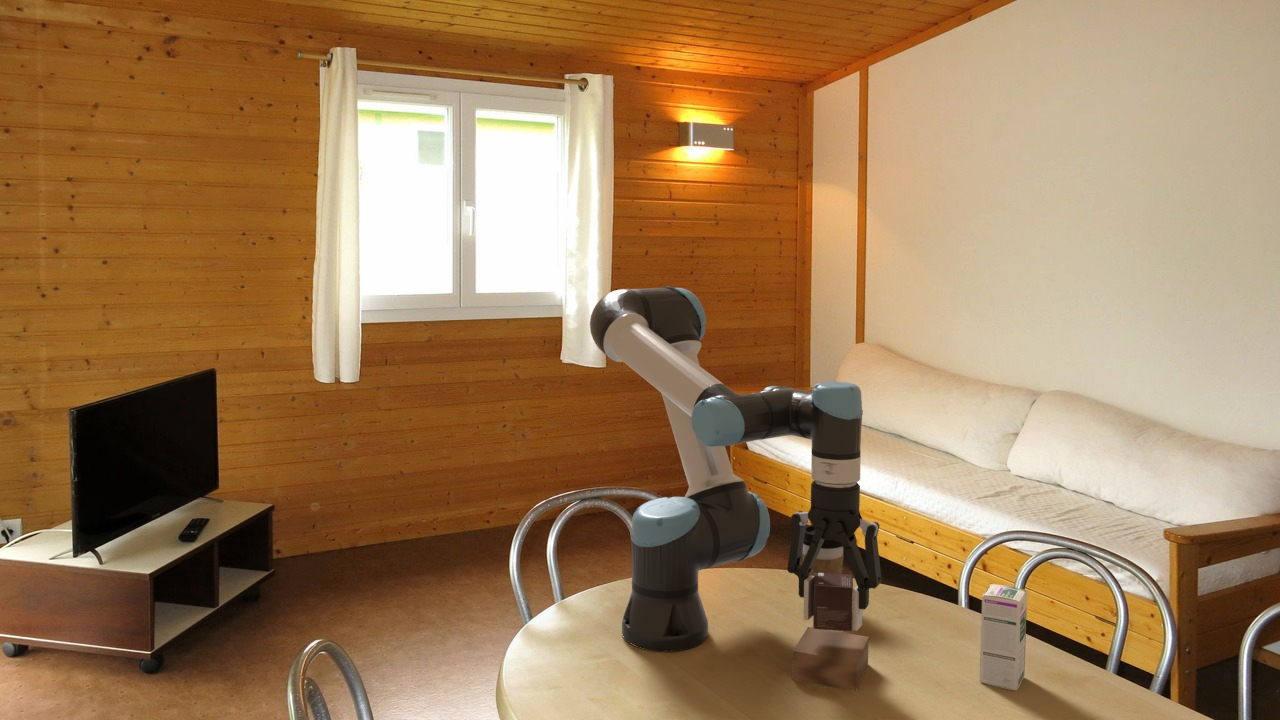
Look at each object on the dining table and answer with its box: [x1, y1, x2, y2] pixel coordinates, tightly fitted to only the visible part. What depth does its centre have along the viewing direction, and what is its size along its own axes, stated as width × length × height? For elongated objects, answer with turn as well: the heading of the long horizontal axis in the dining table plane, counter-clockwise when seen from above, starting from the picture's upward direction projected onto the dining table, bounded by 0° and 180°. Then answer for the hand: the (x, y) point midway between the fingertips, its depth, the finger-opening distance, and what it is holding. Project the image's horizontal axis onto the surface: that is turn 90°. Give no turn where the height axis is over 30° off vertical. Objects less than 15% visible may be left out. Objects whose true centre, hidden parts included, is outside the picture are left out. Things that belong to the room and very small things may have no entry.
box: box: [812, 573, 854, 633], centre depth 147 cm, size 6×6×7 cm
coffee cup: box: [802, 524, 845, 576], centre depth 176 cm, size 8×8×15 cm
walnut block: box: [791, 626, 870, 692], centre depth 149 cm, size 10×10×5 cm
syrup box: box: [979, 583, 1028, 692], centre depth 145 cm, size 6×6×14 cm
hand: (832, 621), depth 148 cm, fingers closed on box, 7 cm apart
